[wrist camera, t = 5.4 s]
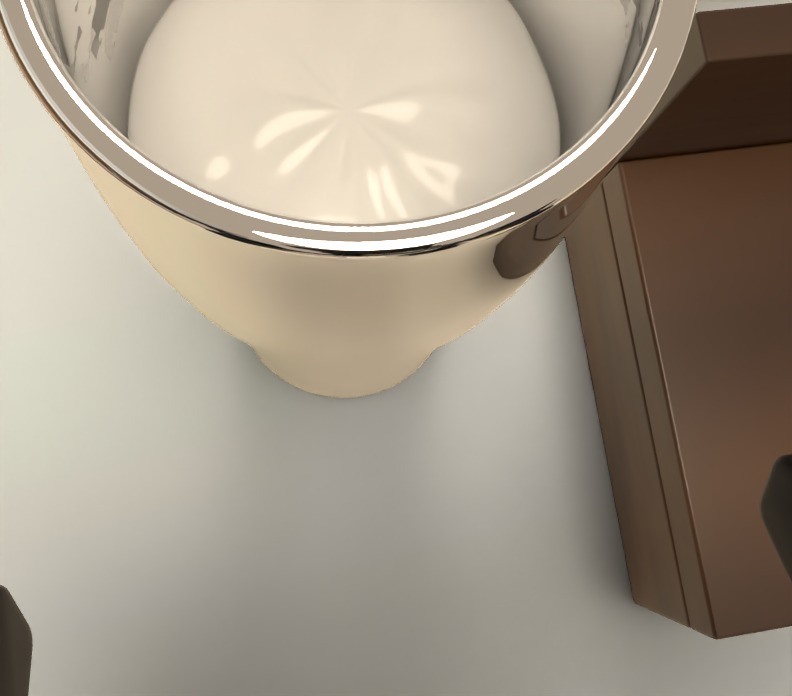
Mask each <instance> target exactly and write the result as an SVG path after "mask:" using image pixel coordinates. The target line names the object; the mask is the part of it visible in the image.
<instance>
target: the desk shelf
mask: <svg viewBox="0 0 792 696" xmlns="http://www.w3.org/2000/svg"><path fill="white" fill-rule="evenodd" d="M565 238H566V244H567V249H568V254H569V259H570V265H571V270H572V275H573V281H574V286H575V291H576V297H577V302H578V307H579V313H580V318H581V323H582V328H583V334H584V339H585V344H586V350H587V355H588V360H589V366H590V371H591V376H592V381H593V387H594V392H595V397H596V403H597V408H598V413H599V419H600V424H601V429H602V435H603V440H604V445H605V450H606V456H607V461H608V466H609V472H610V477H611V482H612V488H613V493H614V498H615V504H616V509H617V514H618V519H619V525H620V530H621V535H622V541H623V546H624V551H625V557H626V562H627V567H628V573H629V578H630V583H631V588H632V594H633V599H634V602H635V603H636V604H638V605H640V606H643V607H645V608H647V609H649V610H651V611H654V612H656V613H658V614H660V615H663V616H665V617H667V618H669V619H671V620H674V621H676V622H678V623H680V624H683V625H685V626H687V627H690V628H692V629H693V630H696V631H698V632H700V633H702V634H705V635H707V636H709V637H711V638H713V639H723V638H728V637H734V636H739V635H745V634H751V633H756V632H762V631H767V630H773V629H778V628H784V627H789V626H792V583H791V581H790V579H789V577H788V574H787V572H786V570H785V568H784V566H783V564H782V561H781V559H780V557H779V555H778V553H777V551H776V549H775V546H774V544H773V542H772V540H771V538H770V536H769V533H768V531H767V529H766V527H765V525H764V522H763V520H762V516H761V511H760V502H761V498H762V495H763V492H764V489H765V486H766V483H767V480H768V477H769V474H770V472H771V469H772V466H773V463H774V462H775V460H776V459H778V458H779V457H781V456H784V455H790V454H792V3H787V4H777V5H767V6H756V7H746V8H735V9H725V10H714V11H704V12H698V13H696V14H695V15H694V19H693V23H692V27H691V31H690V34H689V37H688V40H687V44H686V47H685V49H684V52H683V54H682V57H681V60H680V62H679V65H678V67H677V69H676V71H675V74H674V76H673V78H672V80H671V82H670V84H669V86H668V88H667V90H666V92H665V93H664V95H663V97H662V98H661V100H660V102H659V104H658V105H657V107H656V108H655V110H654V111H653V113H652V114H651V116H650V118H649V119H648V120H647V122H646V123H645V124H644V126H643V127H642V128H641V130H640V131H639V132H638V134H637V135H636V136H635V137H634V138H633V140H632V141H631V142H630V143H629V144H628V145H627V147H626V148H625V149H624V150H623V151H622V152H621V153H620V154H619V155H618V157H617V158H616V160H615V162H614V163H613V165H612V166H611V168H610V170H609V171H608V173H607V175H606V176H605V178H604V179H603V181H602V183H601V184H600V186H599V187H598V189H597V190H596V192H595V193H594V195H593V196H592V198H591V199H590V201H589V202H588V204H587V205H586V207H585V208H584V210H583V211H582V213H581V214H580V216H579V217H578V219H577V220H576V222H575V223H574V224H573V226H572V227H571V229H570V230H569V232H568V233H567V234H566V236H565Z"/></svg>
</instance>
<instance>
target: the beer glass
mask: <svg viewBox="0 0 792 696" xmlns="http://www.w3.org/2000/svg"><path fill="white" fill-rule="evenodd" d="M697 1H698V0H0V30H1V32H2V35H3V37H4V40H5V42H6V44H7V47H8V49H9V51H10V53H11V55H12V57H13V59H14V61H15V63H16V65H17V67H18V69H19V71H20V72H21V74H22V76H23V78H24V79H25V81H26V83H27V84H28V86H29V87H30V89H31V90H32V92H33V94H34V95H35V97H36V98H37V99H38V101H39V102H40V104H41V105H42V106H43V108H44V109H45V111H46V112H47V113H48V114H49V116H50V117H51V118H52V119H53V121H54V122H55V123H56V124H57V125H58V127H59V128H60V129H61V130H62V131H63V133H64V134H65V136H66V138H67V140H68V141H69V143H70V145H71V147H72V148H73V150H74V152H75V154H76V155H77V157H78V159H79V161H80V162H81V164H82V166H83V168H84V169H85V171H86V172H87V174H88V175H89V177H90V179H91V180H92V182H93V183H94V185H95V187H96V188H97V190H98V191H99V193H100V195H101V196H102V198H103V199H104V201H105V202H106V204H107V206H108V207H109V209H110V210H111V212H112V214H113V215H114V217H115V218H116V220H117V221H118V222H119V224H120V225H121V227H122V228H123V229H124V231H125V232H126V233H127V234H128V236H129V237H130V238H131V240H132V241H133V242H134V243H135V245H136V246H137V247H138V249H139V250H140V251H141V252H142V254H143V255H144V256H145V258H146V259H147V260H148V261H149V263H150V264H151V265H152V266H153V268H154V269H155V270H156V271H157V272H158V273H159V274H160V276H161V277H162V278H163V279H164V280H165V281H166V282H167V283H168V284H169V285H170V286H171V287H172V288H174V289H175V290H176V291H177V292H178V293H179V294H180V295H181V296H182V297H183V298H184V299H186V300H187V301H188V302H189V303H190V304H191V305H192V306H193V307H195V308H196V309H197V310H198V311H199V312H200V313H201V314H203V315H204V316H205V317H206V318H207V319H209V320H210V321H211V322H213V323H214V324H215V325H217V326H218V327H220V328H221V329H223V330H224V331H226V332H227V333H229V334H231V335H232V336H234V337H236V338H238V339H239V340H241V341H243V342H245V343H247V344H249V345H250V346H251V348H252V349H253V351H254V352H255V354H256V355H257V356H258V357H259V359H260V360H261V361H262V362H263V363H264V364H265V365H266V366H267V367H268V368H269V369H270V370H271V371H272V372H273V373H274V374H276V375H277V376H278V377H280V378H281V379H283V380H284V381H286V382H287V383H289V384H291V385H293V386H295V387H297V388H299V389H301V390H304V391H306V392H309V393H312V394H316V395H320V396H326V397H333V398H355V397H362V396H367V395H371V394H375V393H378V392H381V391H384V390H386V389H389V388H391V387H393V386H395V385H397V384H398V383H400V382H402V381H403V380H405V379H406V378H408V377H409V376H410V375H412V374H413V373H414V372H415V371H416V370H417V369H419V368H420V367H421V366H422V365H423V363H424V362H425V361H426V360H427V359H428V358H429V356H430V355H431V354H432V352H433V351H434V349H436V348H439V347H441V346H443V345H445V344H447V343H449V342H451V341H453V340H454V339H456V338H458V337H460V336H461V335H463V334H465V333H466V332H468V331H469V330H471V329H472V328H473V327H475V326H476V325H478V324H479V323H480V322H482V321H483V320H484V319H485V318H487V317H488V316H489V315H490V314H491V313H493V312H494V311H495V310H496V309H498V308H499V307H500V306H501V305H502V304H504V303H505V302H506V301H507V300H508V299H510V298H511V297H512V296H513V295H514V294H515V293H516V292H517V291H518V290H519V289H520V288H521V287H522V286H523V285H524V284H525V283H526V282H527V281H528V280H529V279H530V278H531V277H532V276H533V274H534V273H535V272H536V271H537V270H538V268H539V267H540V266H541V265H542V264H543V263H544V261H545V260H546V259H547V258H548V257H549V255H550V254H551V253H552V252H553V251H554V249H555V248H556V247H557V246H558V244H559V243H560V242H561V241H562V240H563V238H564V237H565V236H566V234H567V233H568V232H569V230H570V229H571V227H572V226H573V224H574V223H575V222H576V220H577V219H578V217H579V216H580V214H581V213H582V211H583V210H584V208H585V207H586V205H587V204H588V202H589V201H590V199H591V198H592V196H593V195H594V193H595V192H596V190H597V189H598V187H599V186H600V184H601V183H602V181H603V179H604V178H605V176H606V175H607V173H608V171H609V170H610V168H611V166H612V165H613V163H614V162H615V160H616V158H617V157H618V155H619V154H620V153H621V152H622V151H623V150H624V149H625V148H626V147H627V145H628V144H629V143H630V142H631V141H632V140H633V138H634V137H635V136H636V135H637V134H638V132H639V131H640V130H641V128H642V127H643V126H644V124H645V123H646V122H647V120H648V119H649V118H650V116H651V114H652V113H653V111H654V110H655V108H656V107H657V105H658V104H659V102H660V100H661V98H662V97H663V95H664V93H665V92H666V90H667V88H668V86H669V84H670V82H671V80H672V78H673V76H674V74H675V71H676V69H677V67H678V65H679V62H680V60H681V57H682V54H683V52H684V49H685V47H686V44H687V40H688V37H689V34H690V31H691V27H692V23H693V19H694V15H695V11H696V6H697Z"/></svg>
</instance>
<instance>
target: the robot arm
mask: <svg viewBox="0 0 792 696" xmlns="http://www.w3.org/2000/svg"><path fill="white" fill-rule="evenodd" d="M760 511H761V516H762V520H763V522H764V525H765V527H766V529H767V531H768V533H769V536H770V538H771V540H772V542H773V544H774V546H775V549H776V551H777V553H778V555H779V557H780V559H781V561H782V564H783V566H784V568H785V570H786V572H787V574H788V577H789V579H790V581H791V583H792V454H790V455H784V456H781V457H779V458H778V459H776V460H775V462H774V463H773V466H772V469H771V472H770V474H769V477H768V480H767V483H766V486H765V489H764V492H763V495H762V498H761V502H760ZM32 646H33V644H32V634H31V630H30V627H29V625H28V623H27V621H26V619H25V618H24V616H23V614H22V613H21V611H20V609H19V608H18V606H17V604H16V602H15V601H14V599H13V597H12V596H11V594H10V592H9V591H8V590H7V588H5V587H4V586H2V585H0V696H28V691H29V681H30V670H31V659H32Z"/></svg>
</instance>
